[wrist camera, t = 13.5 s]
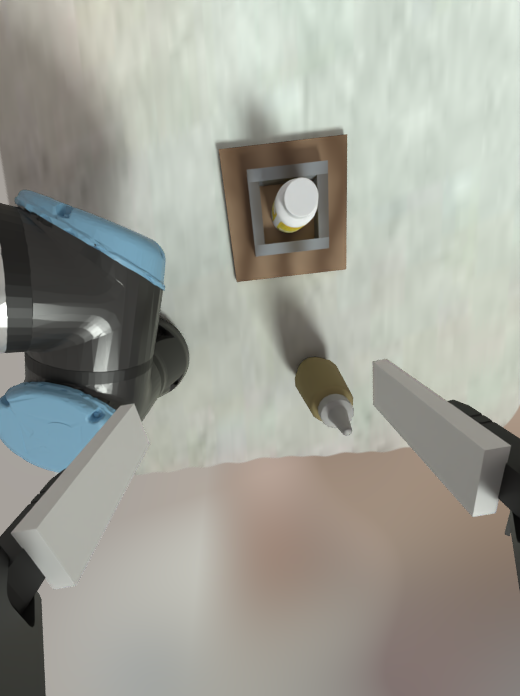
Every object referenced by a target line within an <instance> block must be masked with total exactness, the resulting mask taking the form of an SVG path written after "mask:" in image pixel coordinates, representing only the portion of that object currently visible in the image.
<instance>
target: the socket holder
mask: <svg viewBox="0 0 520 696" xmlns="http://www.w3.org/2000/svg"><path fill="white" fill-rule="evenodd" d="M219 155H220V162H221V170H222V177H223V184H224V192H225V199H226V206H227V214H228V221H229V228H230V235H231V243H232V250H233V257H234V265H235V272H236V279H237V282H241V281H249V280H258V279H266V278H275V277H283V276H292V275H301V274H309V273H318V272H326V271H335V270H344V269H346V218H347V134H346V135H337V136H329V137H320V138H312V139H303V140H295V141H286V142H278V143H269V144H260V145H252V146H243V147H235V148H226V149H219ZM301 177H303V178H307V179H310V180H311V181H312V182H313V183H314V184H315V185H316V187H317V190H318V206H317V210H316V213H315V215H314V217H313V218H312V219H311V220H310V221H309V222H308V223H307V224H306V225H305V226H303V227H302V228H300V229H299V230H297V231H296V232H293V233H283V232H281V231H279V230H278V229H277V228H276V227H275V226H274V224H273V222H272V218H271V209H272V206H273V203H274V200H275V198H276V195H277V193H278V191H279V189H280V188H281V187H282V186H283V185H284V184H285V183H286V182H287V181H289V180H292V179H297V178H301Z"/></svg>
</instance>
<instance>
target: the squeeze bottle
mask: <svg viewBox="0 0 520 696" xmlns="http://www.w3.org/2000/svg"><path fill="white" fill-rule="evenodd" d="M295 385H296V387H297V389H298V391H299V393H300V394H301V396H302V398H303V399H304V401H305V403H306V404H307V406H308V408H309V409H310V411H311V413H312V414H313V416H314V417H315V418H317V419H318V420H320V421H322V422H323V423H324V424H325V425H327V426H328V427H332V428H338V429H339V430H340V431H341V432H342V433H343V434H344V435H346V436H347V435H350V434H351V433H352V428H351V424H350V421H351V419H352V417H353V415H354V408H353V396H352V394H351V392H350V390H349V388H348V387H347V385H346V383H345V381H344V379H343V377H342V376H341V374H340V372H339V370H338V368H337V366H336V365H335V364H334V363H332V362H331V361H330V360H327V359H323V358H319V357H309V358H307V359H305V360H303V361H302V363H301V364H300V365H299V367H298V370H297V373H296V376H295Z"/></svg>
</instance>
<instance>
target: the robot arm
mask: <svg viewBox="0 0 520 696" xmlns="http://www.w3.org/2000/svg"><path fill="white" fill-rule="evenodd" d="M15 204H17V205H18V207H13V206H9V205H5V204H2V203H0V353H12V352H25V380H24V382H23V383H21V384H19V385H16V386H13V387H12V388H10V389H8V391H7V392H6V393H5V395H4V396H2V397H1V398H0V439H1V440H2V442H3V443H4V444H5V445H6V446H7V447H8V448H9V449H10V450H11V451H12V452H14V453H15V454H16V455H18V456H20V457H22V458H23V459H24V460H26V461H27V462H29V463H31V464H33V465H36V466H38V467H41V468H43V469H46V470H50V471H54V472H60V473H59V474H57V475H56V476H55V477H53V478H52V479H51V480H50V481H49V482H48V483H47V485H45V487H44V488H43V489H42V490H41V491H40V494H38V495H37V496H36V497H35V498H34V499H33V500H32V501H31V504H29V505H28V506H27V507H26V508H25V509H24V510H23V511H22V512H21V514H20V515H19V516H18V517H17V518H16V519H15V520H14V521H13V523H12V524H11V525H10V526H9V527H8V528H7V529H6V531H5V532H4V533H3V534H2V535H1V536H0V696H46V695H45V672H44V651H43V627H42V604H41V597H40V595H39V593H38V592H37V590H38V589H39V587H40V585H41V584H42V582H43V581H44V579H46V580H47V582H48V583H49V584H50V586H51V587H52V588H53V589H60V588H66V587H71V586H76V585H77V583H78V581H79V580H80V578H81V576H82V574H83V572H84V570H85V568H86V566H87V564H88V562H89V560H90V558H91V556H92V555H93V553H94V551H95V549H96V547H97V545H98V543H99V541H100V539H101V537H102V535H103V533H104V531H105V530H106V528H107V526H108V524H109V522H110V520H111V518H112V516H113V514H114V512H115V510H116V508H117V506H118V505H119V502H120V501H121V499H122V497H123V495H124V493H125V491H126V489H127V487H128V485H129V483H130V481H131V480H132V478H133V476H134V474H135V472H136V470H137V468H138V466H139V464H140V462H141V460H142V458H143V457H144V455H145V453H146V451H147V449H148V447H149V445H150V442H149V439H148V437H147V434H146V432H145V429H144V427H143V424H142V421H143V419H144V418H145V416H146V415H147V413H148V412H149V410H150V409H151V407H152V406H153V404H154V403H155V401H156V400H157V398H159V397H161V396H163V395H165V394H167V393H168V392H170V391H172V390H173V389H174V388H175V387H176V386H177V385H178V384H179V383H180V382H181V380H182V379H183V377H184V375H185V374H186V372H187V369H188V365H189V351H188V347H187V344H186V342H185V340H184V338H183V337H182V335H181V334H180V332H179V331H178V330H177V329H176V328H175V327H174V326H172V325H171V324H170V323H168V322H167V321H165V320H163V319H161V318H159V315H160V308H161V301H162V294H163V290H164V291H165V285H164V272H165V254H164V252H163V250H162V248H161V247H160V246H159V245H158V244H157V243H156V242H155V241H153V240H152V239H150V238H147V237H145V236H143V235H141V234H139V233H137V232H134V231H132V230H130V229H127V228H125V227H123V226H120V225H118V224H116V223H113V222H111V221H108V220H106V219H103V218H101V217H98V216H96V215H93V214H91V213H88V212H86V211H83V210H81V209H78V208H73V207H72V206H70V205H67V204H64V203H62V202H59V201H56V200H54V199H52V198H50V197H47V196H44V195H42V194H39V193H36V192H33V191H29V190H22V191H20V192H19V194H18V196H17V197H16V198H15ZM373 405H374V406H375V407H376V408H377V410H378V411H379V412H380V413H381V414H382V415H383V416H384V417H385V419H386V420H387V421H388V422H389V423H390V424H391V425H392V426H393V428H394V429H395V430H396V431H397V432H398V433H399V434H400V436H401V437H402V438H403V439H404V440H405V441H406V442H407V443H408V445H409V446H410V447H411V448H412V449H413V450H414V451H415V452H416V453H417V455H418V456H419V457H420V458H421V459H422V460H423V461H424V463H425V464H426V465H427V466H428V467H429V468H430V469H431V470H432V472H433V473H434V474H435V475H436V476H437V477H438V478H439V480H440V481H441V482H442V483H443V484H444V485H445V486H446V488H447V489H448V490H449V491H450V492H451V493H452V494H453V495H454V497H455V498H456V499H457V500H458V501H459V502H460V503H461V504H462V506H463V507H464V508H465V509H466V510H467V511H468V512H469V514H471V516H472V517H475V516H481V515H487V514H493V513H496V510H497V505H498V501H499V499H500V500H501V501H502V502H503V503H504V504H505V505H506V506H507V507H508V508H509V509H510V515H509V518H508V522H507V526H506V530H505V535H508V536H510V533H511V536H512V542H513V549H514V556H515V563H516V569H517V576H518V583H519V589H520V438H518V437H516V436H515V435H513V434H512V433H510V432H509V431H507V430H506V429H504V428H503V427H501V426H500V425H498V424H497V423H495V422H492V420H490V419H489V418H487V417H486V416H484V415H483V416H482V414H481V413H480V412H478V411H477V410H475V409H473V408H472V407H470V406H469V405H466V404H463V403H461V402H458V401H456V400H450V401H446V400H445V399H443V398H442V397H441V396H439V395H438V394H436V393H435V392H433V391H432V390H430V389H429V388H428V387H426V386H425V385H423V384H422V383H420V382H419V381H418V380H416V379H415V378H413V377H412V376H410V375H409V374H408V373H406V372H405V371H403V370H402V369H400V368H399V367H398V366H396V365H395V364H393V363H392V362H390V361H389V360H387V359H383V360H377V361H373Z"/></svg>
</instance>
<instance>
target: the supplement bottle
mask: <svg viewBox="0 0 520 696" xmlns="http://www.w3.org/2000/svg"><path fill="white" fill-rule="evenodd" d="M317 206H318V190H317V187H316V185H315V184H314V183H313V182H312V181H311V180H310V179H307V178H303V177H301V178H297V179H292V180H289V181H287V182H286V183H285V184H284V185H283V186H282V187H281V188H280V189H279V191H278V193H277V195H276V198H275V200H274V203H273V206H272V209H271V218H272V222H273V224H274V226H275V227H276V228H277V229H278V230H279V231H281V232H283V233H293V232H296V231H297V230H299V229H300V228H302V227H303V226H305V225H306V224H307V223H308V222H309V221H310V220H311V219H312V218H313V217H314V215H315V213H316V210H317Z"/></svg>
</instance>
